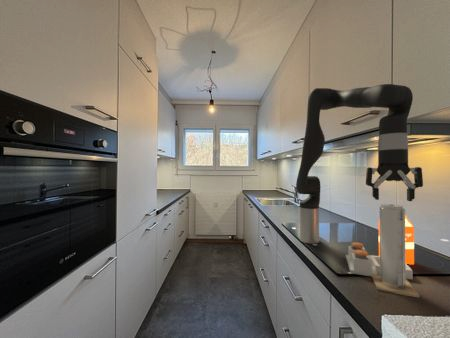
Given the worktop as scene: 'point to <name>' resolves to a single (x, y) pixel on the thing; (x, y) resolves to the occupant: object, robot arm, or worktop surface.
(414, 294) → the mat
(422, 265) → the worktop surface
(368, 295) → the worktop surface
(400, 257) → the silver metal cylinder
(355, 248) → the plunger
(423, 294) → the worktop surface
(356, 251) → the plunger
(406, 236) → the orange juice
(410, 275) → the housing
